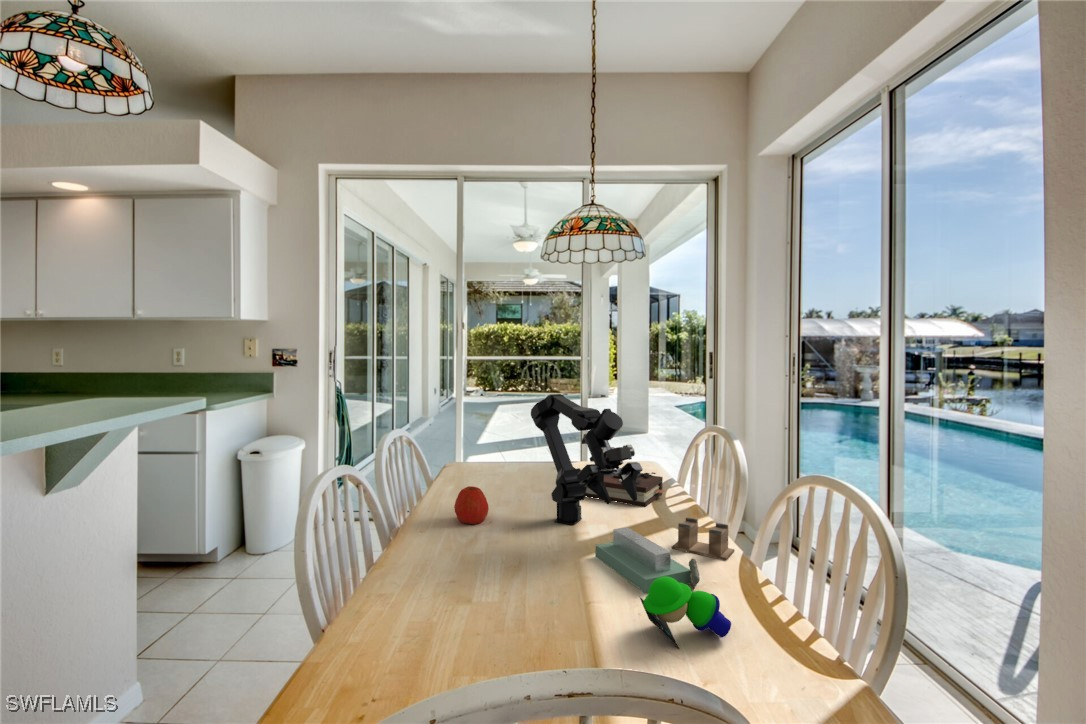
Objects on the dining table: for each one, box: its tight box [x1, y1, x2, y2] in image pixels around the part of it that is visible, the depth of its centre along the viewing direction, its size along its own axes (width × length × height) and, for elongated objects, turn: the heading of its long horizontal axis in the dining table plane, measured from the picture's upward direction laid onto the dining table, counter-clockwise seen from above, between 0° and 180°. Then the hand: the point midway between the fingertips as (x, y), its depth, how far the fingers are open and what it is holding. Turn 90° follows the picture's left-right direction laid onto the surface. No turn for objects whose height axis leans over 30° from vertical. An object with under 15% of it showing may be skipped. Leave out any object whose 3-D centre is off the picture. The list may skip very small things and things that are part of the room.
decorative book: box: [585, 472, 666, 508], centre depth 193 cm, size 19×8×30 cm
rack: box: [671, 516, 735, 561], centre depth 142 cm, size 14×7×7 cm, turn 56°
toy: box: [638, 576, 732, 649], centre depth 101 cm, size 10×11×15 cm
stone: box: [688, 558, 701, 589], centre depth 125 cm, size 13×2×5 cm, turn 171°
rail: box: [612, 526, 672, 573], centre depth 130 cm, size 18×4×4 cm, turn 24°
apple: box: [453, 485, 489, 525], centre depth 165 cm, size 10×10×10 cm
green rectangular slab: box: [595, 541, 692, 594], centre depth 130 cm, size 22×12×3 cm, turn 24°
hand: (622, 502), depth 141 cm, fingers open, 9 cm apart
